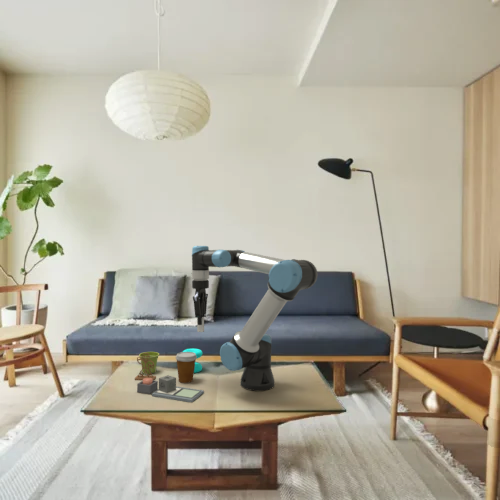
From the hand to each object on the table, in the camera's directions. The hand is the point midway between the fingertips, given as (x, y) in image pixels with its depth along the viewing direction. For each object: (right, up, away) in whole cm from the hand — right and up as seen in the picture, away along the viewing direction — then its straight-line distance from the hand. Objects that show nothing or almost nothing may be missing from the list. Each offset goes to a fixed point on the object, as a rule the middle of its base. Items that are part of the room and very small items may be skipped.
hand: (200, 331), depth 178 cm
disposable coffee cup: (-7, -23, 0) cm, 24 cm away
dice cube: (-12, -21, -15) cm, 29 cm away
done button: (-21, -21, -13) cm, 32 cm away
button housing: (-21, -22, -13) cm, 33 cm away
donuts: (-6, -23, +15) cm, 28 cm away
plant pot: (-26, -22, +11) cm, 36 cm away
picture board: (-7, -22, -17) cm, 29 cm away
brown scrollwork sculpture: (-26, -22, +1) cm, 34 cm away
